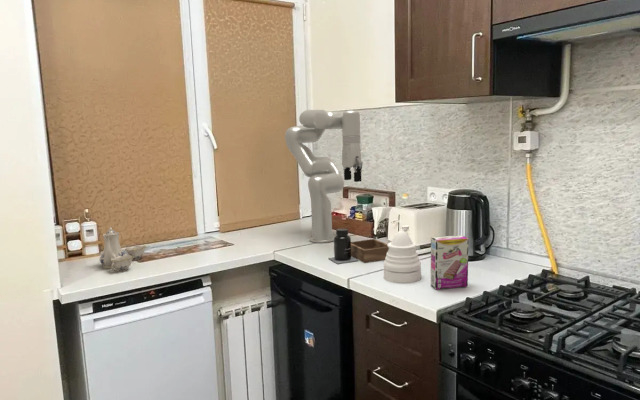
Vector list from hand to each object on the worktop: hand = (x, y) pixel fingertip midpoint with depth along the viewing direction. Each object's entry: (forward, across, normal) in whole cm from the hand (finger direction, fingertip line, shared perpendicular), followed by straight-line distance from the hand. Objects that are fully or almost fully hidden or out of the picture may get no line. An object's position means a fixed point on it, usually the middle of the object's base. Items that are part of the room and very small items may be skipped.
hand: (352, 180), depth 208 cm
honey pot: (+31, +44, -3) cm, 54 cm away
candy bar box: (+31, +60, +5) cm, 67 cm away
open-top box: (+30, +13, 0) cm, 33 cm away
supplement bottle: (+30, +13, -12) cm, 35 cm away
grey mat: (+30, +13, -12) cm, 35 cm away
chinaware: (+31, -27, -95) cm, 103 cm away
